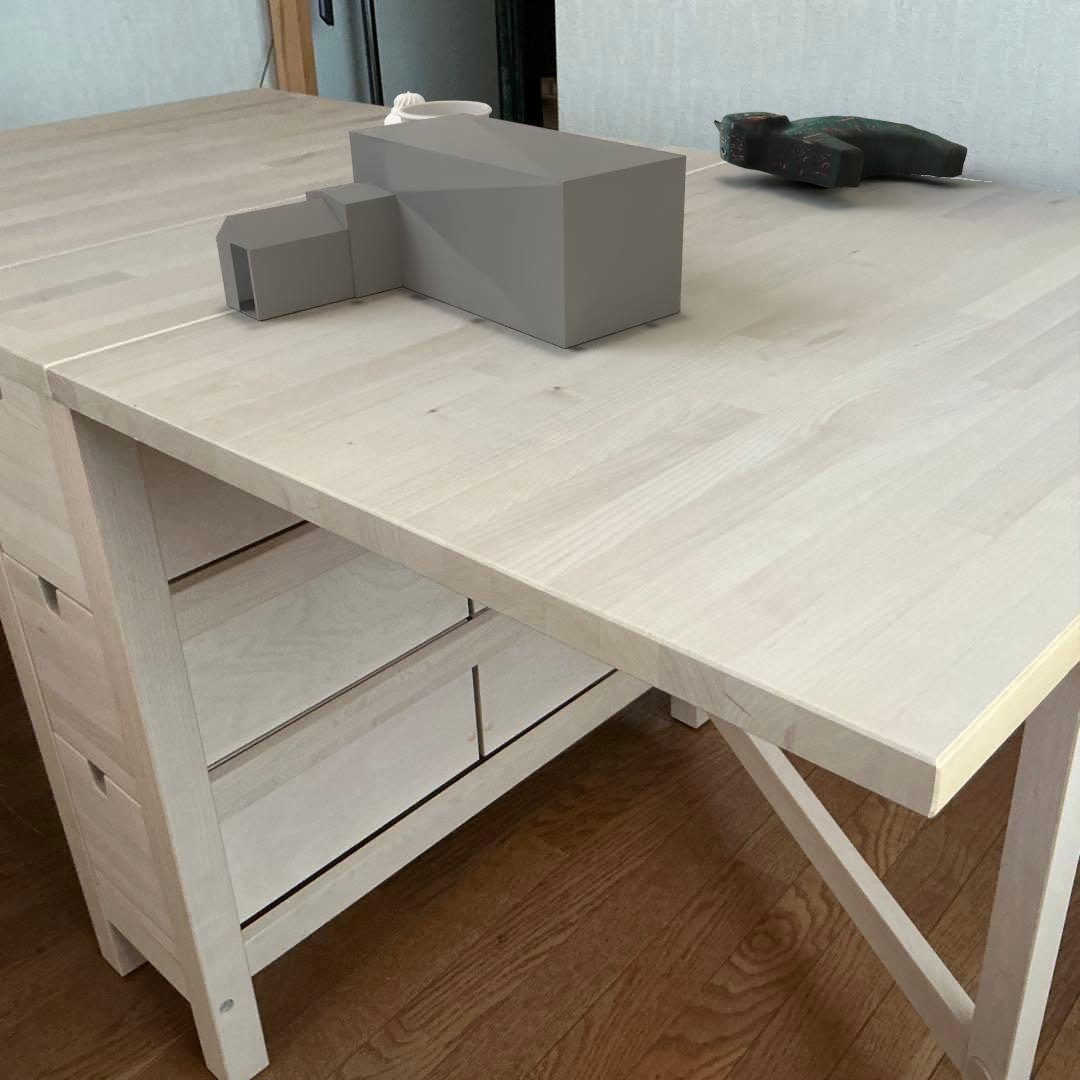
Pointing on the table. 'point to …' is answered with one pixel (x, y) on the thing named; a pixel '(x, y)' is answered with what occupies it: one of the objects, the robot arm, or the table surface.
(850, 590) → the table surface
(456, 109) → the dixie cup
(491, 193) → the stepped duct adapter
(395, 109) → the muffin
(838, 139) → the ceramic cat
